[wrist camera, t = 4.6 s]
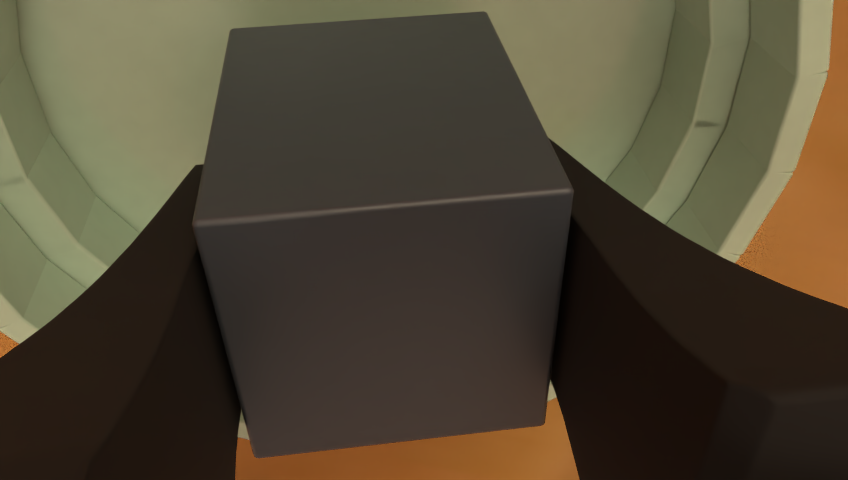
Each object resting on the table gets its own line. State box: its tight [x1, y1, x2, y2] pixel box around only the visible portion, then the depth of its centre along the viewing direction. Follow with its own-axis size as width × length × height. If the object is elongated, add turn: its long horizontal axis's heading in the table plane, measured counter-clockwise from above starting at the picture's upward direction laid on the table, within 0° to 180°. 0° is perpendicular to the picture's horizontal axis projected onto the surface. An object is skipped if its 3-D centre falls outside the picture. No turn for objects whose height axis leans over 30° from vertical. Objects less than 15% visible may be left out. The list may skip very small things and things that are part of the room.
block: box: [192, 11, 574, 458], centre depth 12 cm, size 4×4×6 cm
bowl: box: [0, 0, 834, 440], centre depth 15 cm, size 16×16×4 cm
